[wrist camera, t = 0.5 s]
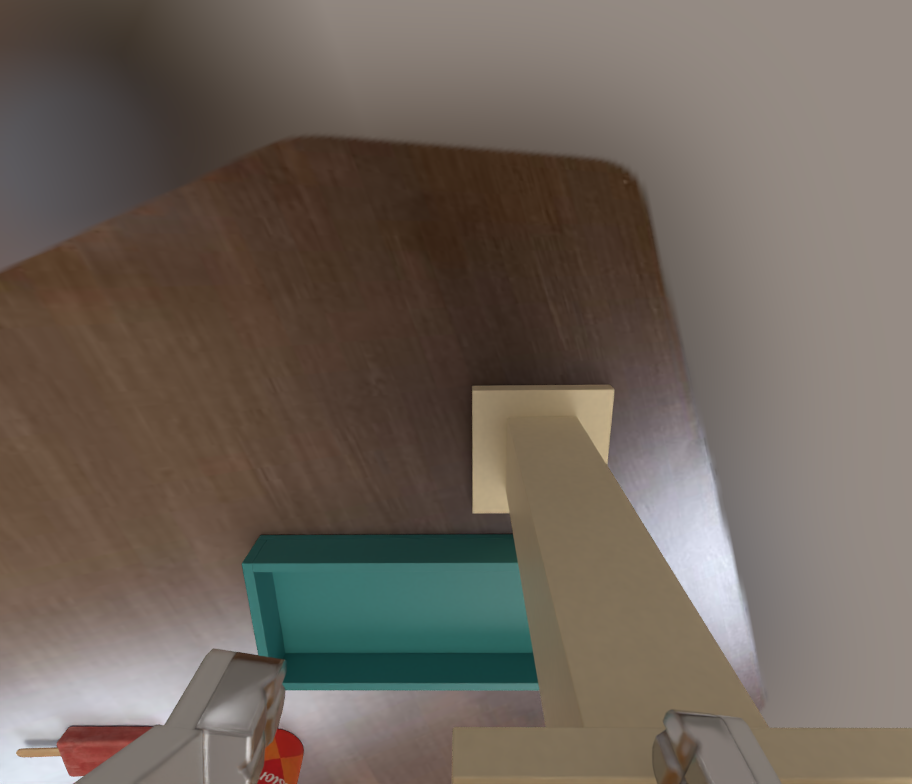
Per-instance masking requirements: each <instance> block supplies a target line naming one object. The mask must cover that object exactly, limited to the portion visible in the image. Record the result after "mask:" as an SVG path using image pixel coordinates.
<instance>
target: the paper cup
mask: <svg viewBox="0 0 912 784" xmlns="http://www.w3.org/2000/svg"><path fill="white" fill-rule="evenodd" d="M303 753H304V749H303V745H302V743H301V742H300V740H299V739H298V738H297V737H296V736H294V735H293V734H291V733H290V732H287V731H285V730H281V729H277V731H276V734H275V737H274V739H273V742H272V743H270V744H269V745H268V746H267V747H266V748H265V758H264V767H263V770H262V772H261V775H260V778H259V780H258V783H257V784H297V781H298V777H299V773H300V768H301V764H302V759H303Z"/></svg>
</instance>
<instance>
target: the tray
mask: <svg viewBox="0 0 912 784" xmlns="http://www.w3.org/2000/svg"><path fill="white" fill-rule="evenodd" d="M242 568H243V574H244V579H245V584H246V590H247V595H248V601H249V606H250V612H251V617H252V623H253V628H254V634H255V639H256V645H257V650H258V655H259V656H266V657H272V658H278V659H284V660H287V667H286V675H285V677H284V680H283V682H282V685H283V686H284V687H285V690H539V684H538V678H537V672H536V666H535V660H534V655H533V649H532V643H531V637H530V631H529V625H528V619H527V613H526V607H525V601H524V596H523V590H522V584H521V578H520V572H519V566H518V560H517V554H516V548H515V542H514V537H513V534H452V535H260V537H259V538H258V540H257V541H256V543H255V544H254V546H253V547H252V549H251V550H250V552H249V553H248V555H247V556H246V558H245V559H244V561H243V562H242Z"/></svg>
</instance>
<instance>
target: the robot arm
mask: <svg viewBox="0 0 912 784" xmlns="http://www.w3.org/2000/svg"><path fill="white" fill-rule="evenodd" d="M286 667H287V660H284V659H278V658H272V657H266V656H259V655H253V654H247V653H241V652H233V651H226V650H219V649H212V650H211V651H210V652H209V653H208V654H207V655H206V656H205V658H204V660H203V661H202V663H201V665H200V666H199V668H198V670H197V671H196V673H195V675H194V676H193V678H192V680H191V681H190V683H189V685H188V686H187V688H186V690H185V691H184V693H183V695H182V696H181V698H180V700H179V702H178V703H177V705H176V707H175V708H174V710H173V712H172V713H171V715H170V717H169V718H168V720H167V722H166V723H165V725H155V726H154V727H152V728H151V729H150V730H148V731H147V732H145V733H144V734H143V735H141V736H140V737H138V738H137V739H136V740H134V741H133V742H131V743H130V744H129V745H127V746H126V747H124V748H123V749H122V750H120V751H119V752H117V753H116V754H114V755H113V756H112V757H110V758H109V759H107V760H106V761H105V762H103V763H102V764H100V765H99V766H98V767H96V768H95V769H93V770H92V771H91V772H89V773H88V774H86V775H85V776H84V777H82V778H81V779H79V780H78V781H76V782H75V783H74V784H257V783H258V780H259V778H260V775H261V772H262V770H263V767H264V758H265V748H266V747H267V746H268V745H269V744H270V743H272V742H273V739H274V737H275V734H276V731H277V728H278V725H279V721H280V718H281V714H282V710H283V705H284V699H285V687H284V686H283V685H282V682H283V680H284V677H285V675H286ZM663 724H664V726H665V729H666V730H664V731H663V732H661V733H660V734H658V735H657V736H656V738H655V741H654V744H653V746H652V766H653V771H654V776H655V779H656V782H657V784H782V783H781V781H780V780H779V778H778V776H777V774H776V773H775V771H774V769H773V767H772V766H771V764H770V762H769V761H768V759H767V757H766V755H765V754H764V752H763V750H762V748H761V747H760V745H759V743H758V742H757V740H756V738H755V736H754V735H753V733H752V731H751V729H750V728H749V726H748V724H747V723H746V722H745V721H744V720H743V719H742V718H738V717H730V716H722V715H715V714H711V713H702V712H693V711H684V710H676V709H671V710H669V711H668V712H666V714H665V716H664V719H663Z"/></svg>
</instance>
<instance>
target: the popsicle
mask: <svg viewBox="0 0 912 784" xmlns="http://www.w3.org/2000/svg"><path fill="white" fill-rule="evenodd" d="M151 728H152V727H78V726H77V727H69V728H68V729H67V730H66V732H65V733H64V734H63V735H62V737H61V738H60V739H59V741H58V742H57V747H56V748H26V749H19V750H18V751H17V752H16V754H17V755H18V756H20V757H46V756H61V757H62V759H63V762H64V764H65V767H66V769H67V771H68V774H69V775H70V776H73V777H74V776H85V775H86V774H88V773H89V772H91V771H92V770H93V769H95V768H96V767H98V766H99V765H100V764H102V763H103V762H105V761H106V760H107V759H109V758H110V757H112V756H113V755H114V754H116V753H117V752H119V751H120V750H122V749H123V748H124V747H126V746H127V745H129V744H130V743H131V742H133V741H134V740H136V739H137V738H138V737H140V736H141V735H143V734H144V733H145V732H147V731H148V730H150V729H151Z"/></svg>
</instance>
